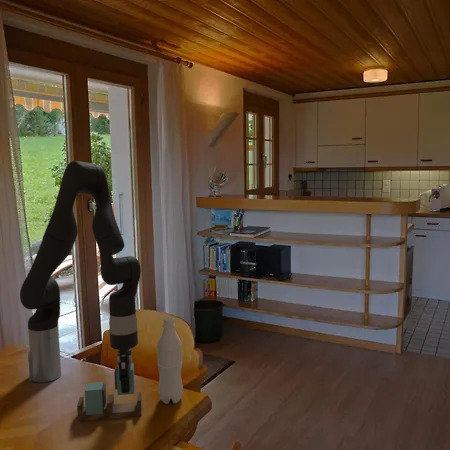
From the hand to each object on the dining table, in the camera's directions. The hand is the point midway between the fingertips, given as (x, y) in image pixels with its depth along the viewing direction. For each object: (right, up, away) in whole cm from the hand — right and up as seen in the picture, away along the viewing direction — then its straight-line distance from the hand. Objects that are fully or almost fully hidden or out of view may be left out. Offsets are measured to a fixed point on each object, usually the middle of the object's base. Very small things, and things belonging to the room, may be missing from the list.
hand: (126, 387), depth 132 cm
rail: (-4, -7, 0) cm, 9 cm away
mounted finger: (-8, -6, -1) cm, 10 cm away
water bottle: (+12, -6, +8) cm, 15 cm away
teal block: (0, -1, 0) cm, 1 cm away
